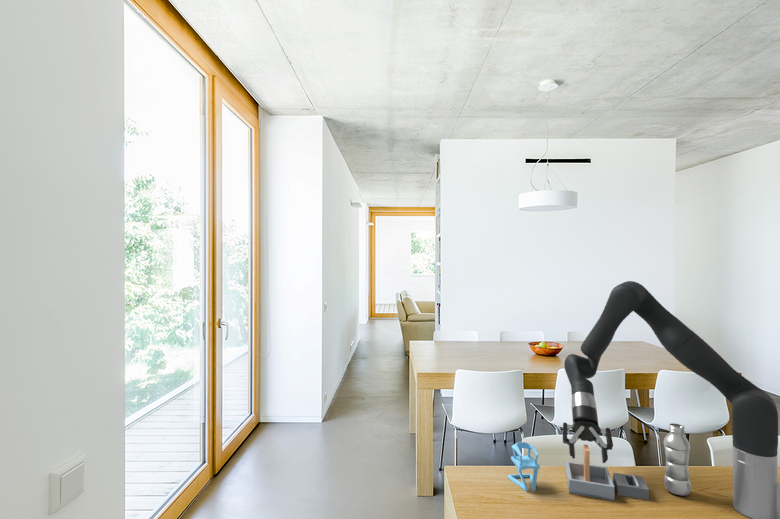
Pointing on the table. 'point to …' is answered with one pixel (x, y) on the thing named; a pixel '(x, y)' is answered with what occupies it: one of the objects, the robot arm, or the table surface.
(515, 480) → the chair
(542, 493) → the table surface
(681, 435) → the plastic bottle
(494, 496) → the table surface
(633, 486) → the ticket dispenser
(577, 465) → the tray
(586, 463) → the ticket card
